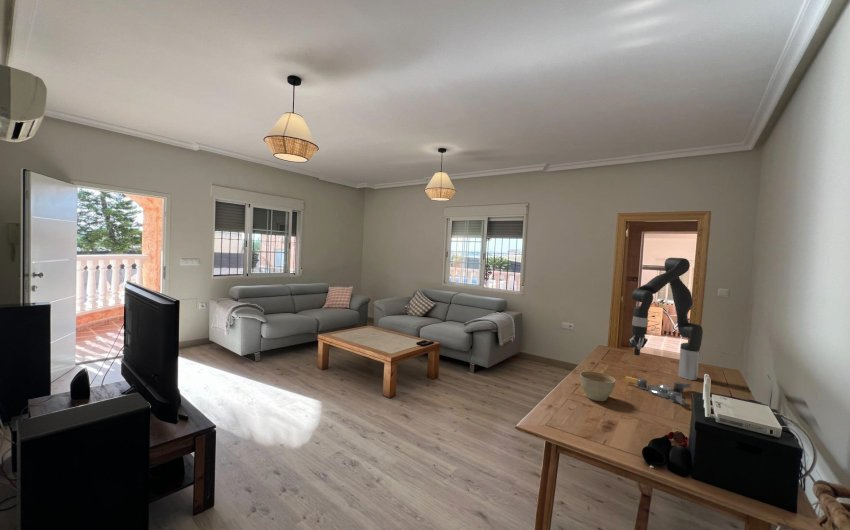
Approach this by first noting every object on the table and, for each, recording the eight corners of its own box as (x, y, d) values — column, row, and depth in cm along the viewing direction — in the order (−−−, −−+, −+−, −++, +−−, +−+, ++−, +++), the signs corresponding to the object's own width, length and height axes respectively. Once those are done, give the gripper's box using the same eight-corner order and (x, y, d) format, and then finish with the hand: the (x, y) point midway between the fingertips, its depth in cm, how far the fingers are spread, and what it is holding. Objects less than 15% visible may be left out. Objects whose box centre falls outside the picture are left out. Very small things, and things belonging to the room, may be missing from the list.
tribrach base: (643, 382, 206) (643, 375, 205) (683, 392, 193) (684, 384, 193) (635, 392, 189) (636, 385, 189) (679, 404, 177) (680, 396, 177)
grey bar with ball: (679, 391, 191) (680, 385, 191) (671, 388, 195) (672, 382, 195) (692, 389, 194) (693, 383, 194) (684, 386, 198) (685, 380, 198)
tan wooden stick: (647, 385, 197) (647, 380, 197) (645, 387, 194) (646, 382, 194) (626, 380, 204) (626, 375, 203) (624, 382, 200) (625, 377, 200)
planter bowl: (612, 407, 169) (614, 385, 169) (576, 398, 178) (577, 377, 177) (615, 396, 183) (616, 375, 182) (581, 388, 191) (582, 368, 191)
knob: (667, 397, 182) (668, 390, 182) (677, 398, 181) (677, 391, 181) (678, 405, 172) (678, 399, 172) (688, 406, 171) (688, 400, 171)
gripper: (641, 323, 209) (638, 352, 209) (625, 323, 204) (622, 353, 204) (654, 326, 202) (651, 356, 202) (637, 326, 197) (634, 357, 197)
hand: (636, 355), depth 203 cm, fingers closed
